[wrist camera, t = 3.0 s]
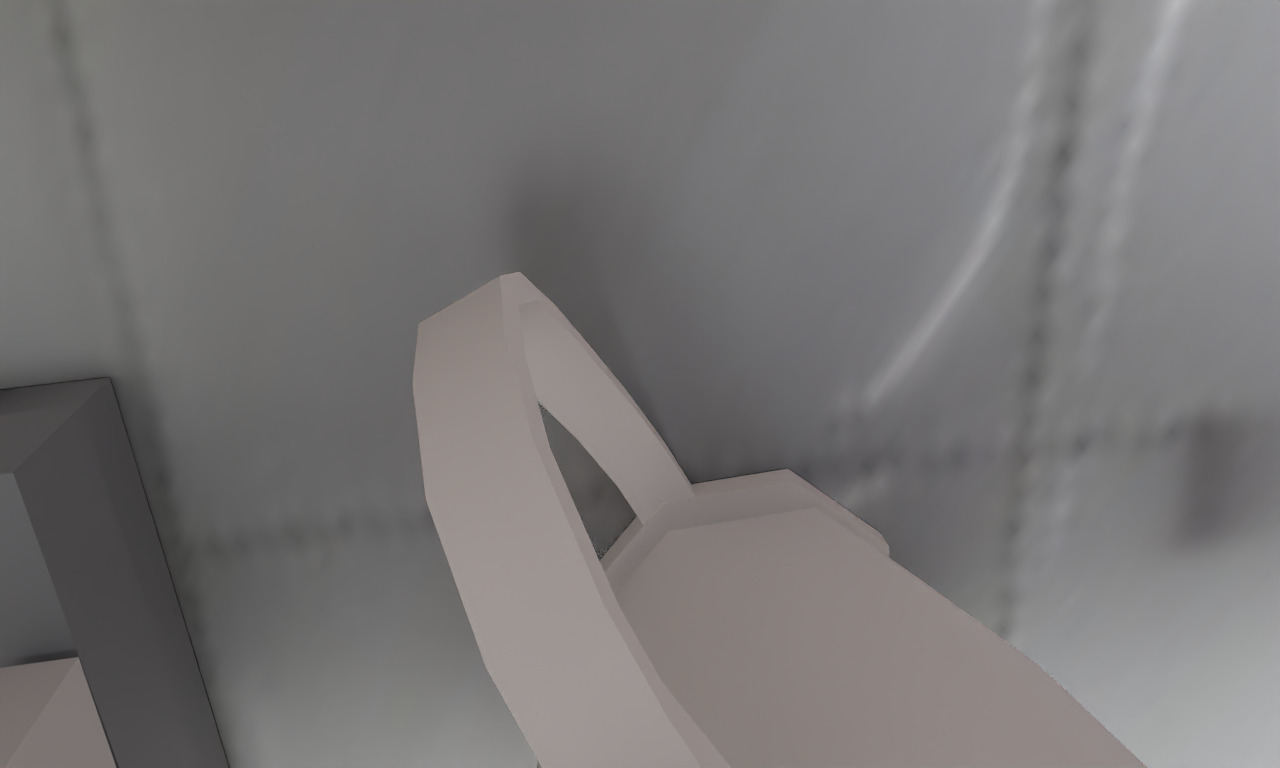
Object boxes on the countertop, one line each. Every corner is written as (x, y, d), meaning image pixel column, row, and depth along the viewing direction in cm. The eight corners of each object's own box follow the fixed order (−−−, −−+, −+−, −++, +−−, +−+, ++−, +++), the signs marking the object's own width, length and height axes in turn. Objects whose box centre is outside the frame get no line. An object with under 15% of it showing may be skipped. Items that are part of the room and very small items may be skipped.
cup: (640, 879, 15) (753, 1719, 8) (217, 358, 12) (-311, 1031, 4) (1055, 665, 15) (1599, 1363, 7) (750, 39, 11) (1234, 174, 4)
